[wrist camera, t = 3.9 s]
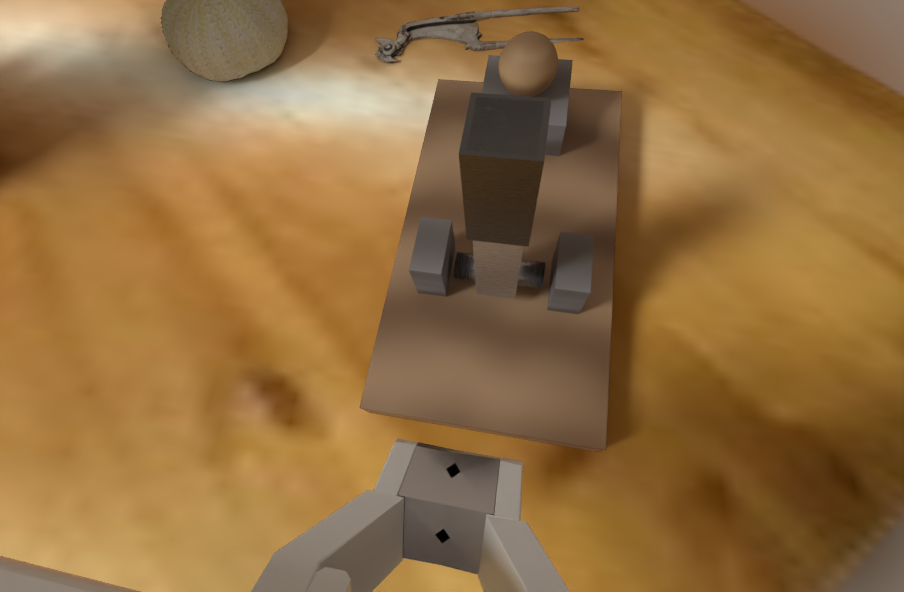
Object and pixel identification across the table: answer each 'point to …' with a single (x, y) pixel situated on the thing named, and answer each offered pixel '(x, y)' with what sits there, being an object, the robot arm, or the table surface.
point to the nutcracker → (458, 30)
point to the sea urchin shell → (225, 35)
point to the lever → (501, 190)
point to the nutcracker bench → (533, 310)
